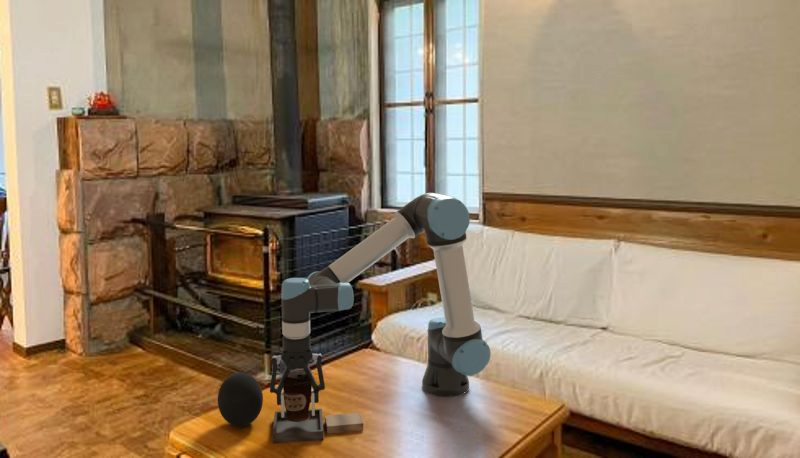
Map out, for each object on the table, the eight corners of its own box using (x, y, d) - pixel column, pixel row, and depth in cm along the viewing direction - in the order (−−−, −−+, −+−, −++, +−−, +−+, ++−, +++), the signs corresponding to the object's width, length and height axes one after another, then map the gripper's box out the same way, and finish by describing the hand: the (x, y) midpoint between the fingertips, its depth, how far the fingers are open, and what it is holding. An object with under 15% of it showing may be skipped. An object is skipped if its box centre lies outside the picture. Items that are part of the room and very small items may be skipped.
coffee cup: (307, 426, 176) (306, 380, 174) (278, 423, 177) (276, 378, 176) (317, 413, 184) (316, 369, 182) (289, 410, 186) (288, 367, 184)
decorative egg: (247, 437, 176) (246, 384, 174) (209, 430, 181) (207, 378, 178) (271, 418, 188) (270, 369, 186) (235, 412, 192) (233, 363, 190)
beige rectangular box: (359, 420, 188) (359, 412, 187) (363, 431, 181) (363, 423, 181) (325, 423, 186) (324, 415, 185) (327, 435, 179) (327, 426, 179)
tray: (321, 416, 189) (321, 408, 189) (323, 439, 175) (323, 431, 175) (275, 419, 187) (274, 411, 187) (272, 443, 173) (272, 434, 173)
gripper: (333, 329, 182) (334, 406, 186) (258, 332, 179) (261, 411, 183) (334, 337, 175) (335, 418, 178) (257, 341, 172) (259, 422, 175)
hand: (298, 414), depth 181 cm, fingers closed on coffee cup, 8 cm apart
